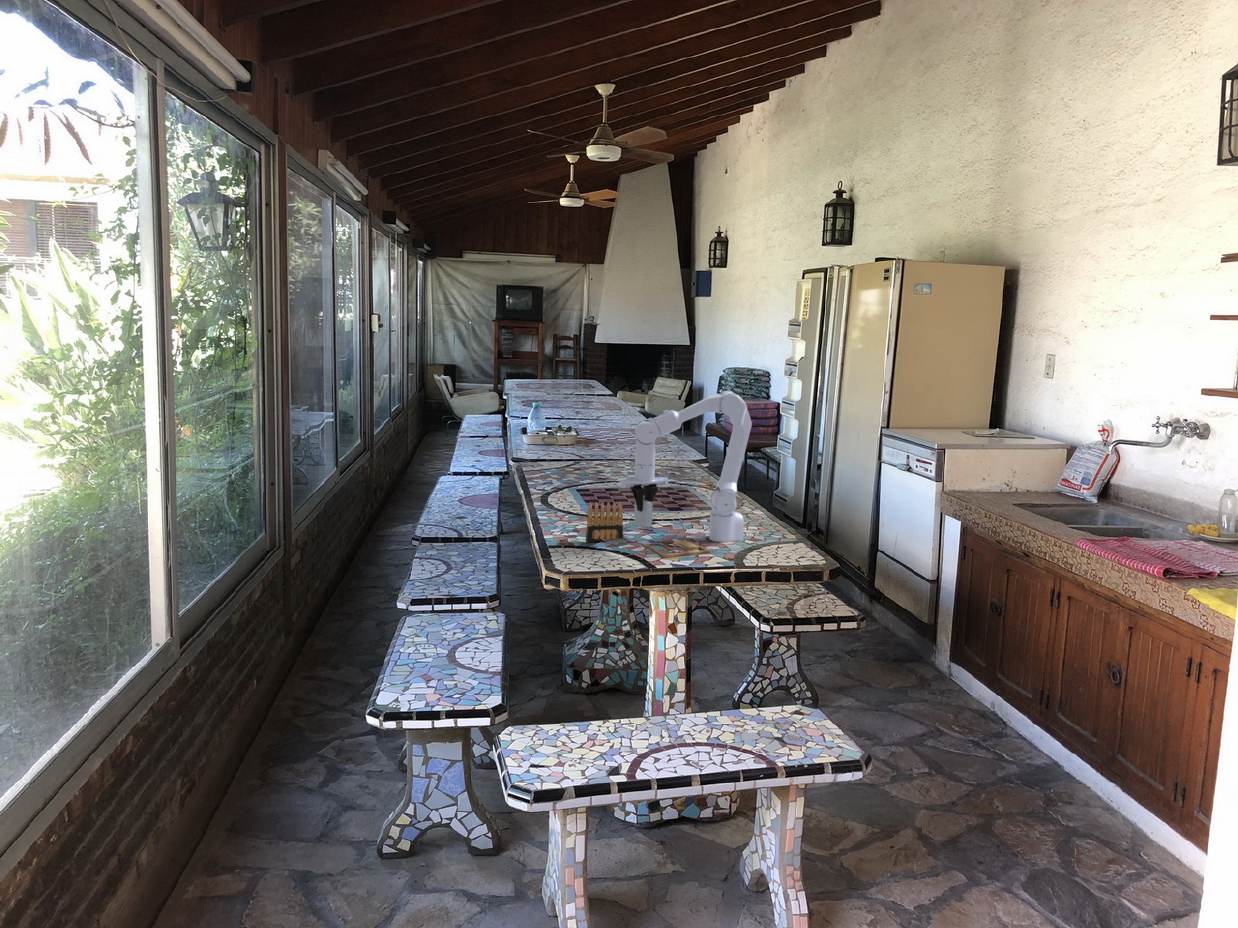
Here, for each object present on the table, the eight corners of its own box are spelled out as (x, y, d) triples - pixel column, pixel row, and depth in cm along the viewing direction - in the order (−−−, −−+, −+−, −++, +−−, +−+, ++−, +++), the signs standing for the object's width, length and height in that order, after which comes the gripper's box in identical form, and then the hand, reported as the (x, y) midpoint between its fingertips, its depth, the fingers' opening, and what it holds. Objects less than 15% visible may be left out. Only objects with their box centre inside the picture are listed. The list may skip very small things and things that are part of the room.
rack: (686, 545, 249) (686, 538, 248) (710, 557, 237) (710, 550, 236) (641, 549, 243) (642, 542, 243) (663, 562, 231) (663, 555, 231)
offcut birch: (683, 544, 248) (683, 541, 248) (700, 553, 239) (700, 550, 239) (672, 545, 246) (673, 542, 246) (689, 555, 237) (689, 551, 237)
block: (639, 520, 254) (640, 497, 253) (651, 526, 247) (652, 502, 246) (634, 521, 254) (634, 497, 252) (646, 527, 246) (646, 503, 245)
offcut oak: (683, 542, 247) (683, 539, 247) (698, 549, 240) (698, 546, 240) (674, 543, 245) (674, 540, 245) (689, 550, 239) (689, 547, 238)
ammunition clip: (621, 540, 252) (622, 500, 250) (623, 542, 250) (624, 502, 248) (585, 541, 250) (586, 501, 248) (586, 543, 248) (587, 502, 246)
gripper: (661, 460, 254) (659, 505, 256) (616, 462, 248) (614, 509, 250) (672, 464, 248) (670, 510, 250) (626, 467, 242) (625, 514, 244)
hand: (643, 510), depth 250 cm, fingers closed on block, 2 cm apart
